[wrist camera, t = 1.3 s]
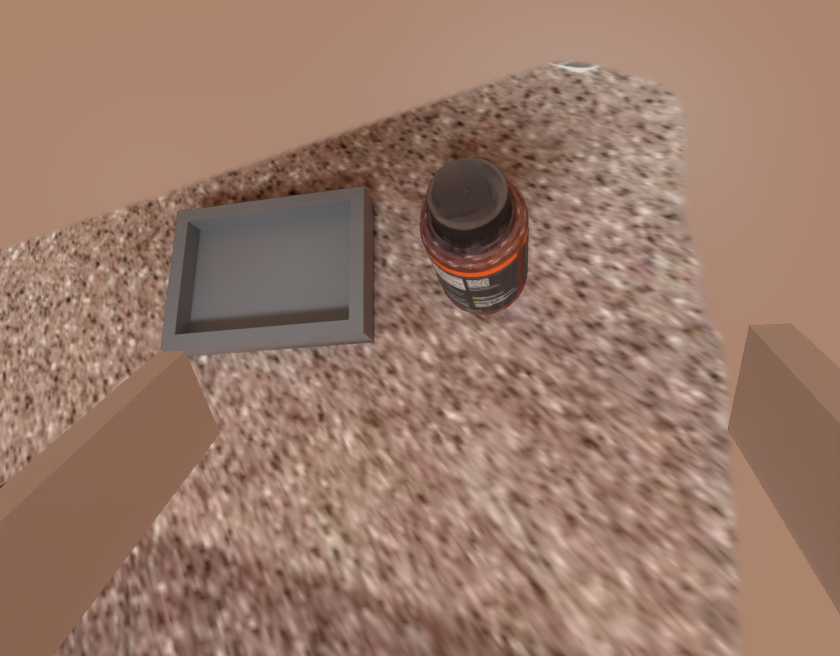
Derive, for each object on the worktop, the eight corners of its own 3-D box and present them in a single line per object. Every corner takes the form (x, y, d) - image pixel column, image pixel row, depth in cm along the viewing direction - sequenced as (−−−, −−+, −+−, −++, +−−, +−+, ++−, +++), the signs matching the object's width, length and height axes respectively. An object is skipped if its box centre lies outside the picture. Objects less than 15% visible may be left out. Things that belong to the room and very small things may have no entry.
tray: (183, 356, 37) (160, 349, 34) (197, 226, 40) (177, 211, 38) (373, 341, 34) (363, 332, 32) (373, 203, 37) (363, 185, 35)
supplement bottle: (495, 222, 35) (486, 115, 24) (544, 286, 33) (558, 200, 22) (426, 267, 35) (386, 181, 24) (470, 333, 33) (449, 270, 22)
